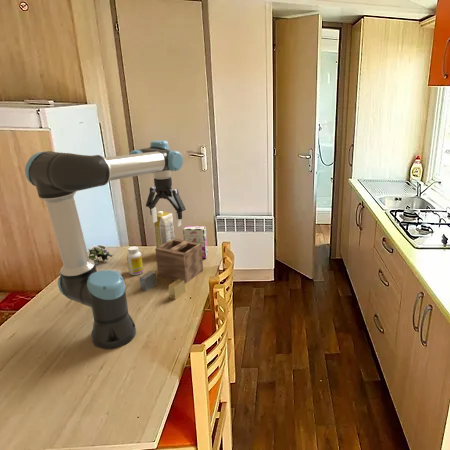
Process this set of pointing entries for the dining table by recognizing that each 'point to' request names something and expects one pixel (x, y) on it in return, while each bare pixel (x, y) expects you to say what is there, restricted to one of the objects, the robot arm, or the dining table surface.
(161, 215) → the juice carton
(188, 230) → the candy bar box
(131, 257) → the supplement bottle
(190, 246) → the wooden compartment box
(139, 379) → the dining table surface
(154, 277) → the grey rectangular block
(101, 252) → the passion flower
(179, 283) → the block
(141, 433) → the dining table surface
